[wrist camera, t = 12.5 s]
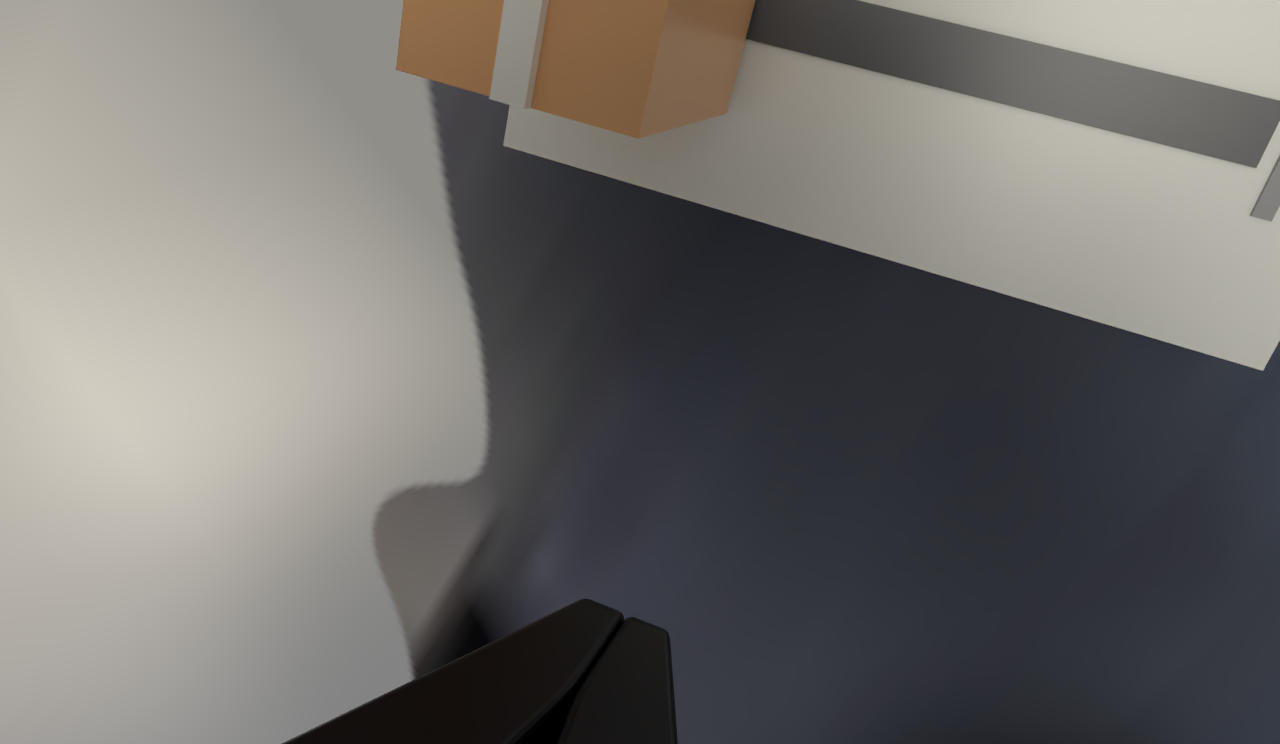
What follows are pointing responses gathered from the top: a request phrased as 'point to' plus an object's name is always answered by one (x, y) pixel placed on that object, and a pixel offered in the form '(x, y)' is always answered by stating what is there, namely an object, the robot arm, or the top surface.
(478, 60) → the orange fader
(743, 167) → the console
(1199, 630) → the top surface
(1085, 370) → the top surface
